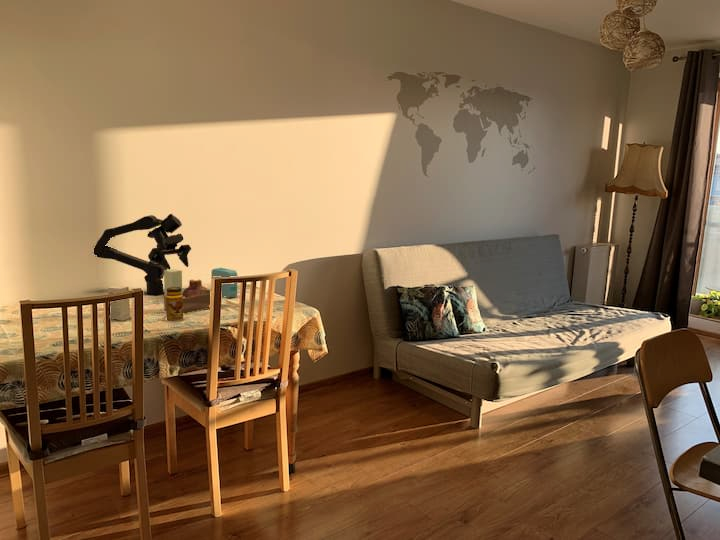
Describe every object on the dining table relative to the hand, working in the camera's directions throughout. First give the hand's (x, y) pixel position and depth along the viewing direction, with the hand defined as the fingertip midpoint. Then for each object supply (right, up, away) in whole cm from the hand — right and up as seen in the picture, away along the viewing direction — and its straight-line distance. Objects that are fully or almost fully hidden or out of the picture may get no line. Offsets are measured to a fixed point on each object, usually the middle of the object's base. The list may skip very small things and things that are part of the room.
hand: (178, 267), depth 252 cm
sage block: (0, -15, -7) cm, 16 cm away
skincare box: (-12, -19, -33) cm, 40 cm away
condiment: (+7, -20, -30) cm, 37 cm away
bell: (+5, -13, +10) cm, 17 cm away
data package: (+17, -13, +10) cm, 24 cm away
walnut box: (+9, -16, -13) cm, 23 cm away
